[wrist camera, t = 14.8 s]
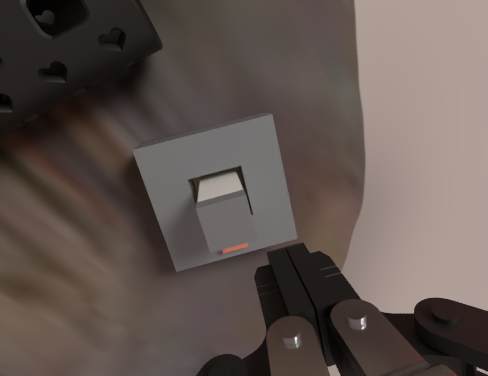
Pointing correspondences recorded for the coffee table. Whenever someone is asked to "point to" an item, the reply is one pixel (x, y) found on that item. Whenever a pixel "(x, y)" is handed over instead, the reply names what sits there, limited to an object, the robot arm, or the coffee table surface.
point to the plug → (224, 211)
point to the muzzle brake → (65, 51)
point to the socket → (210, 161)
